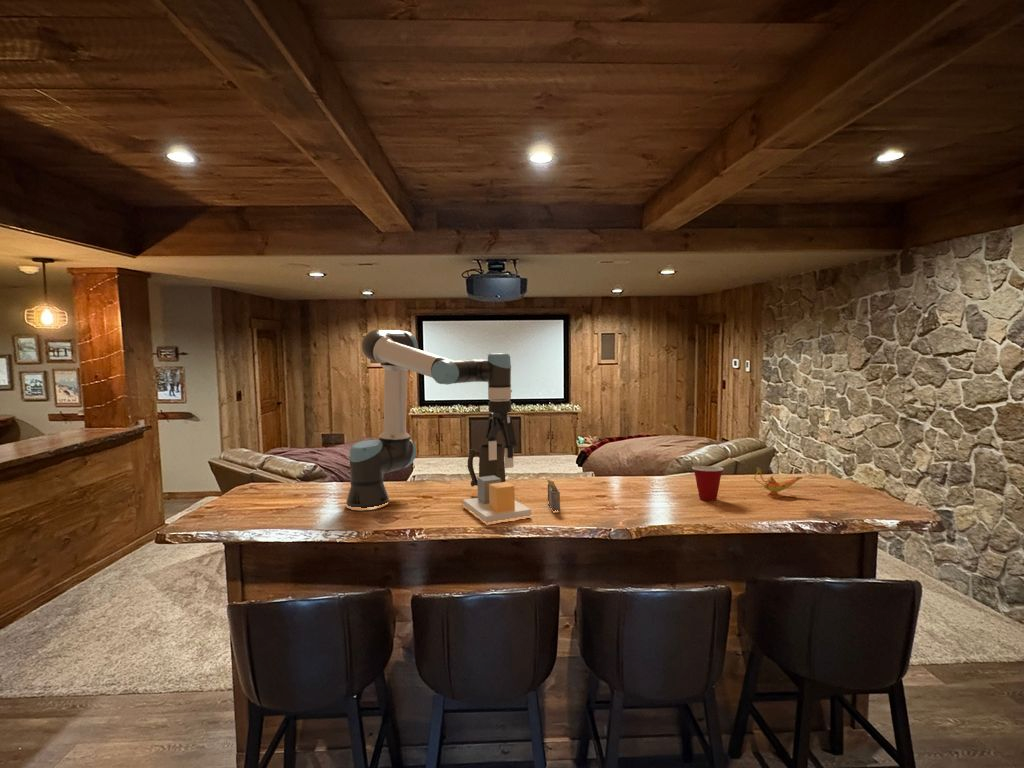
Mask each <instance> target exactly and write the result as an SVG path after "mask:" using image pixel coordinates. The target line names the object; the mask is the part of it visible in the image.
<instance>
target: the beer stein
mask: <svg viewBox="0 0 1024 768" xmlns="http://www.w3.org/2000/svg"><path fill="white" fill-rule="evenodd" d="M504 446H505V444H503V443H497V460H489V443H486V444H480V445H479V449H478V450H476V449H474V448H471V449H469V450H468V451H469V454H468V458H467V470H468V473H469V475H470V478H471V481H470V486H471V487H474V486H475V487H476V486H477V487H478V480H477V475H476V473H475V469H474V463H473V462H474V457H478V459H479V461H478V477H484V476H492V475H494V476H496V477H498V478H500V479H501V482H507V481H506V468H505V448H504Z"/></svg>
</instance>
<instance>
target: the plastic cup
mask: <svg viewBox="0 0 1024 768" xmlns="http://www.w3.org/2000/svg"><path fill="white" fill-rule="evenodd" d="M691 468H692V470H693V473H694V477H695V481H696V486H697V487H696V488H697V491H698V497H699V500H700V501H703V502H716V501H717V498H718V492H719V489H720V482H721V478H722V474H723V471H724V467H721V466H713V465H711V466H710V465H695V466H692V467H691Z"/></svg>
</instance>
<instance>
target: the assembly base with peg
mask: <svg viewBox="0 0 1024 768" xmlns="http://www.w3.org/2000/svg"><path fill="white" fill-rule="evenodd" d="M476 478H477V480H478V486H477V497H474V498H465V499H463V500H462V505H463V504H464V505H465V506H466V507H467V508H469V509H470V510H471V511H472V512H474V513H475V514H476V515H477V516H479V517H480V518H481V519H482V520H483V521H485V522H486V523H488V522H493V521H498V520H505V519H510V518H517V517H523V516H530V515H531V516H532V509H531V508H530V507H528V506H526V505H524V504H522V503H521V502H519V501H517V500H515V510H510V511H504V512H498V513H497V512H496V511H494V510H493V509H491V508H490V505H489V484H493V483H501V479H500V478H498V477H496V476H494V475H492V476H484V477H479V476H478V477H477V476H476Z"/></svg>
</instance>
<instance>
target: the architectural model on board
mask: <svg viewBox="0 0 1024 768" xmlns="http://www.w3.org/2000/svg"><path fill="white" fill-rule="evenodd" d="M546 481H547V483H548V484H547V502H548V501H549V504H550V506H551V508H552V510H553V511H555V510H556V511H557V510H558V511H560V512H561V492H560V490H559V488H558V487H557V485H556V483H555V481H552V480H551V479H550V480H549V479H548V478H546ZM549 504H548V505H549Z"/></svg>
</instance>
